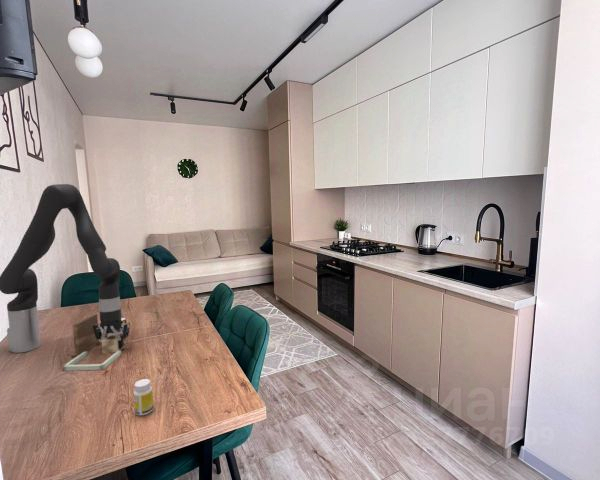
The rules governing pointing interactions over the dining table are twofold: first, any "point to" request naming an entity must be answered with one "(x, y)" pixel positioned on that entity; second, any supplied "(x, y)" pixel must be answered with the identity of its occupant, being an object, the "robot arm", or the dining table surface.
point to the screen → (85, 335)
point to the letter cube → (110, 344)
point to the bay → (102, 366)
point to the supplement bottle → (143, 397)
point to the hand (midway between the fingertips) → (113, 348)
